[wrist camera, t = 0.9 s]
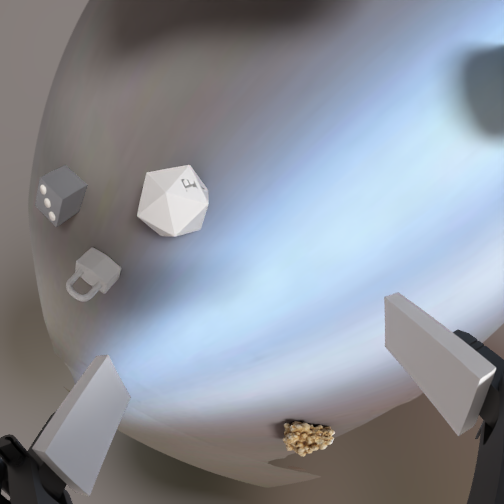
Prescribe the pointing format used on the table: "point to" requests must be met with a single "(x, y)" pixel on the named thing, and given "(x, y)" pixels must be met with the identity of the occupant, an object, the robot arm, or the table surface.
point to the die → (173, 201)
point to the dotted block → (60, 195)
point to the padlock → (94, 274)
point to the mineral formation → (306, 437)
